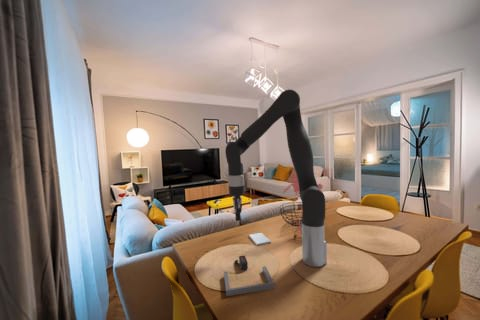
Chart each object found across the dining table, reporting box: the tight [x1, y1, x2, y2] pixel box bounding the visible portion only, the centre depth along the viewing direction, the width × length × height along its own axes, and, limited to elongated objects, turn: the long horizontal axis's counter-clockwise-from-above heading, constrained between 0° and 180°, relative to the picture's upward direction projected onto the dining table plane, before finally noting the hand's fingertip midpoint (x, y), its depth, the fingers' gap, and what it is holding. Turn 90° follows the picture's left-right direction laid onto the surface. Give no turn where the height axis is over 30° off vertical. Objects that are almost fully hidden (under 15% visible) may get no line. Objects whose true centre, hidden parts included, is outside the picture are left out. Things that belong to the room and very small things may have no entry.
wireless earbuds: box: [234, 255, 249, 271], centre depth 88 cm, size 5×7×3 cm, turn 10°
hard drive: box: [248, 232, 272, 247], centre depth 112 cm, size 2×8×12 cm
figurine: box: [282, 174, 323, 235], centre depth 119 cm, size 15×26×35 cm, turn 114°
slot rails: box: [223, 265, 275, 297], centre depth 77 cm, size 17×11×2 cm, turn 99°
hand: (238, 220), depth 96 cm, fingers closed
